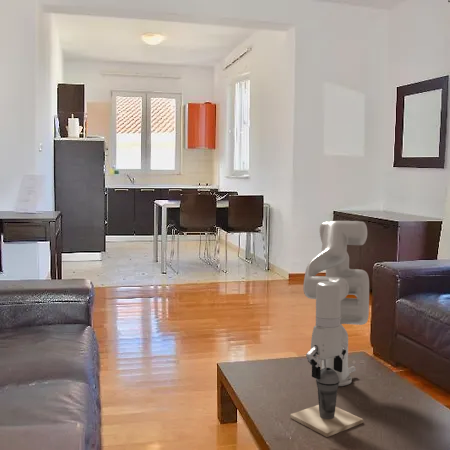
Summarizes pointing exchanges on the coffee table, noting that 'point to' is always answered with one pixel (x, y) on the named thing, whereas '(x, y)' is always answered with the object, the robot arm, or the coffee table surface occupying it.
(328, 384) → the beverage cup
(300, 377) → the coffee table surface
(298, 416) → the birch board
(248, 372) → the coffee table surface
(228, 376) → the coffee table surface
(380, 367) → the coffee table surface
